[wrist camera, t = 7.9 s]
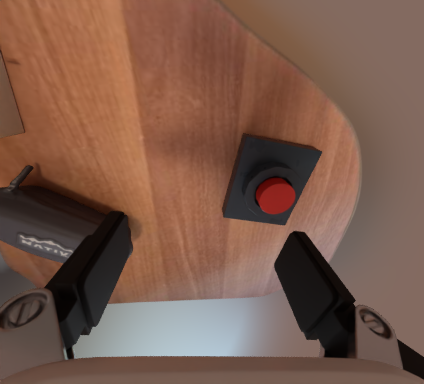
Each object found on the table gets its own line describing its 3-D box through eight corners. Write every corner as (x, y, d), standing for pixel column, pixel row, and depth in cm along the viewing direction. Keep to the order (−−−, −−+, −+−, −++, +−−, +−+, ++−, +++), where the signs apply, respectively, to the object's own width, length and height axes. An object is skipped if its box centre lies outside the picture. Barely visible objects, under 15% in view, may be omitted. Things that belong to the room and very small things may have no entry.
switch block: (242, 132, 22) (250, 139, 19) (313, 147, 24) (332, 156, 20) (221, 209, 28) (224, 225, 25) (279, 217, 29) (290, 233, 26)
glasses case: (4, 220, 26) (-63, 245, 18) (36, 157, 25) (-19, 157, 18) (124, 261, 31) (110, 294, 24) (152, 210, 31) (147, 227, 23)
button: (262, 174, 21) (266, 180, 20) (294, 180, 22) (301, 186, 21) (251, 204, 23) (254, 211, 22) (281, 208, 24) (286, 216, 23)
